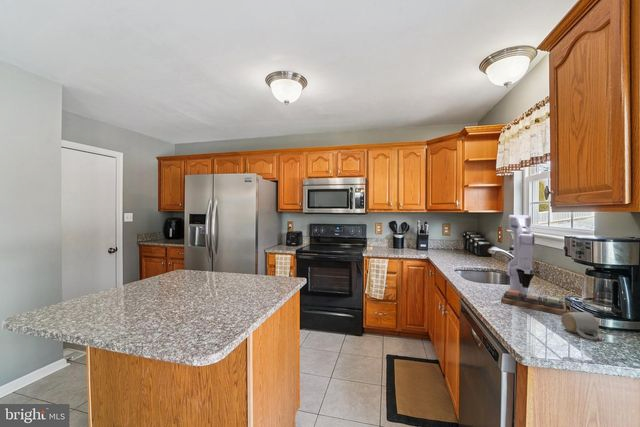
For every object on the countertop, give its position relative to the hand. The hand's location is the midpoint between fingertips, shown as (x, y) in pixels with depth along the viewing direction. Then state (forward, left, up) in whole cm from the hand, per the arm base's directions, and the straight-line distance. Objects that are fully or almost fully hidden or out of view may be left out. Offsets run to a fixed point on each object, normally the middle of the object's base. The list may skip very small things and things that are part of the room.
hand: (523, 285), depth 132 cm
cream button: (-3, +3, -6) cm, 8 cm away
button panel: (-3, +3, -10) cm, 10 cm away
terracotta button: (-1, -4, -6) cm, 8 cm away
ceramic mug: (+18, +25, -10) cm, 32 cm away
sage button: (-5, +10, -7) cm, 13 cm away
